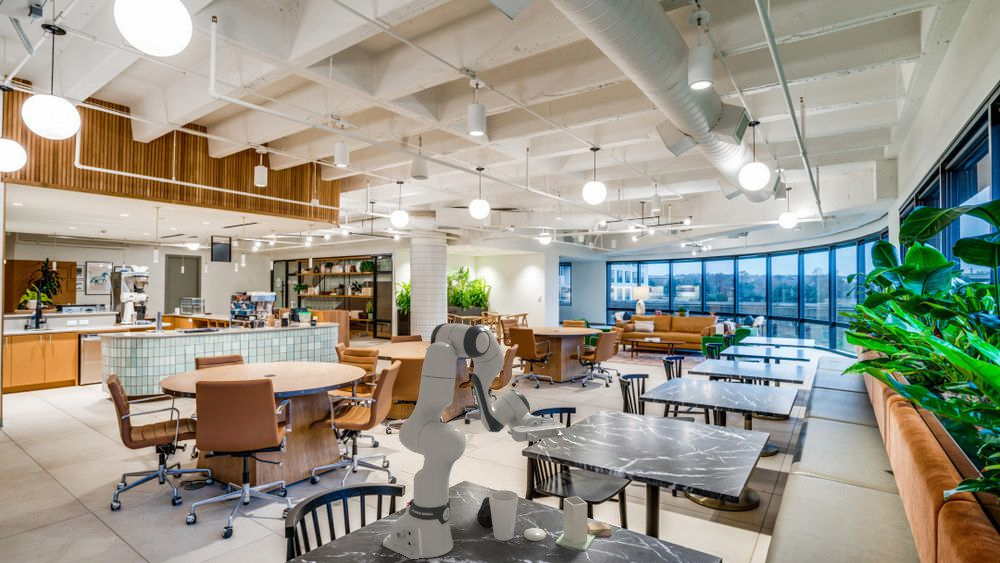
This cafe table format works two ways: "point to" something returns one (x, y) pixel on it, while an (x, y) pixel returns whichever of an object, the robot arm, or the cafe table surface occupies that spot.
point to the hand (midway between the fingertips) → (549, 437)
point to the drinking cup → (485, 514)
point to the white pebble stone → (534, 534)
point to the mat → (580, 546)
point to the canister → (575, 520)
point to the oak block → (599, 529)
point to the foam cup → (503, 513)
